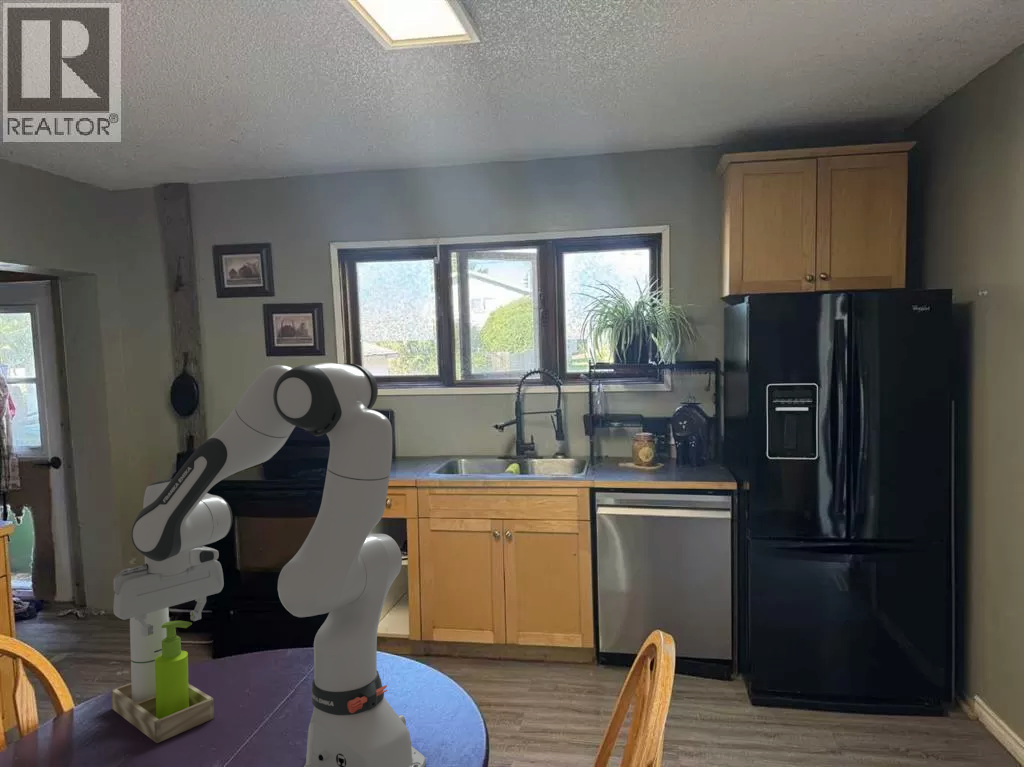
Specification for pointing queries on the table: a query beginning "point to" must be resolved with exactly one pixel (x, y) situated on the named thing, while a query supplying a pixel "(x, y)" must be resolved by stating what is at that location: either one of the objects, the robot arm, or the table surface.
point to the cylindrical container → (146, 654)
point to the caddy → (167, 726)
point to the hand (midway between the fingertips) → (172, 627)
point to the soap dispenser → (172, 673)
